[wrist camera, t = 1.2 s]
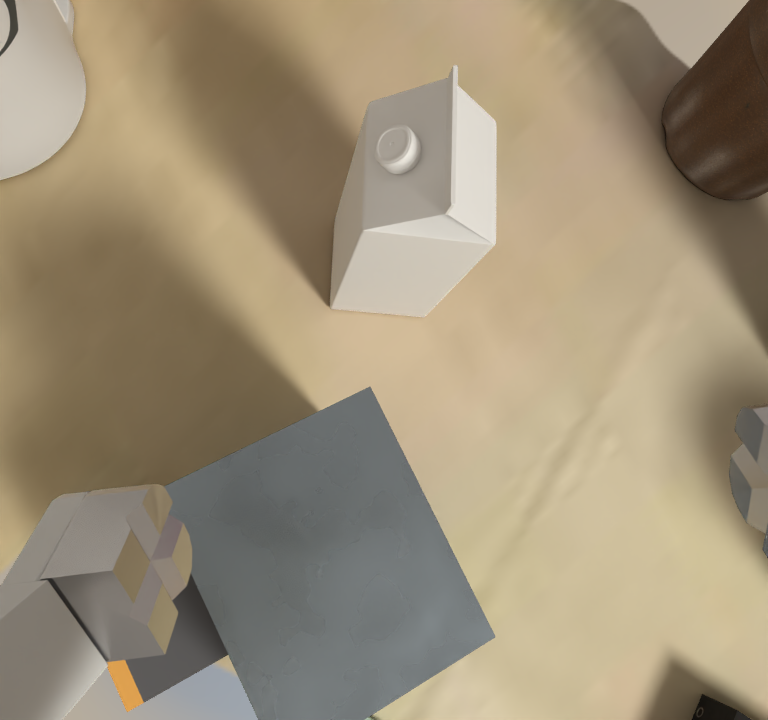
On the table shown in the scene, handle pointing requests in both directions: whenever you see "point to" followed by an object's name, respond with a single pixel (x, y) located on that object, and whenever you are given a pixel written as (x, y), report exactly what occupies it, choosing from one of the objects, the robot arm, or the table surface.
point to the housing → (326, 567)
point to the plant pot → (725, 111)
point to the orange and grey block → (172, 653)
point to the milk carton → (415, 201)
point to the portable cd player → (716, 711)
